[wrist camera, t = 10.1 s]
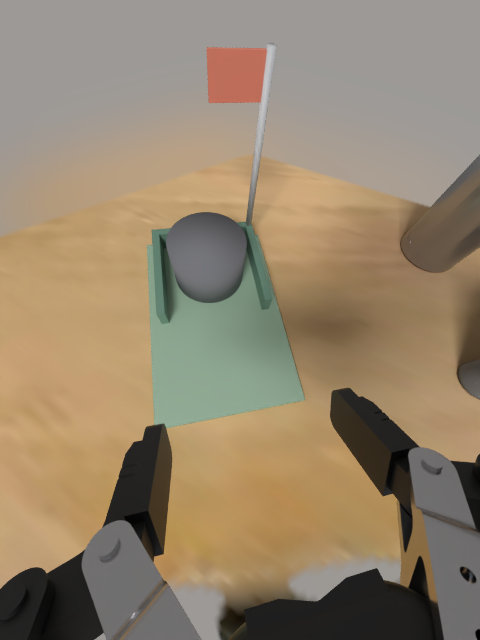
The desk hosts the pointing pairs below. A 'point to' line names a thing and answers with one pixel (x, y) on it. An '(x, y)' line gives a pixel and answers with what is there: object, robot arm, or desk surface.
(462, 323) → the desk surface
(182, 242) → the grey domed cylinder
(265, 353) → the mini golf green
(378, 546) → the desk surface
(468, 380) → the flask
